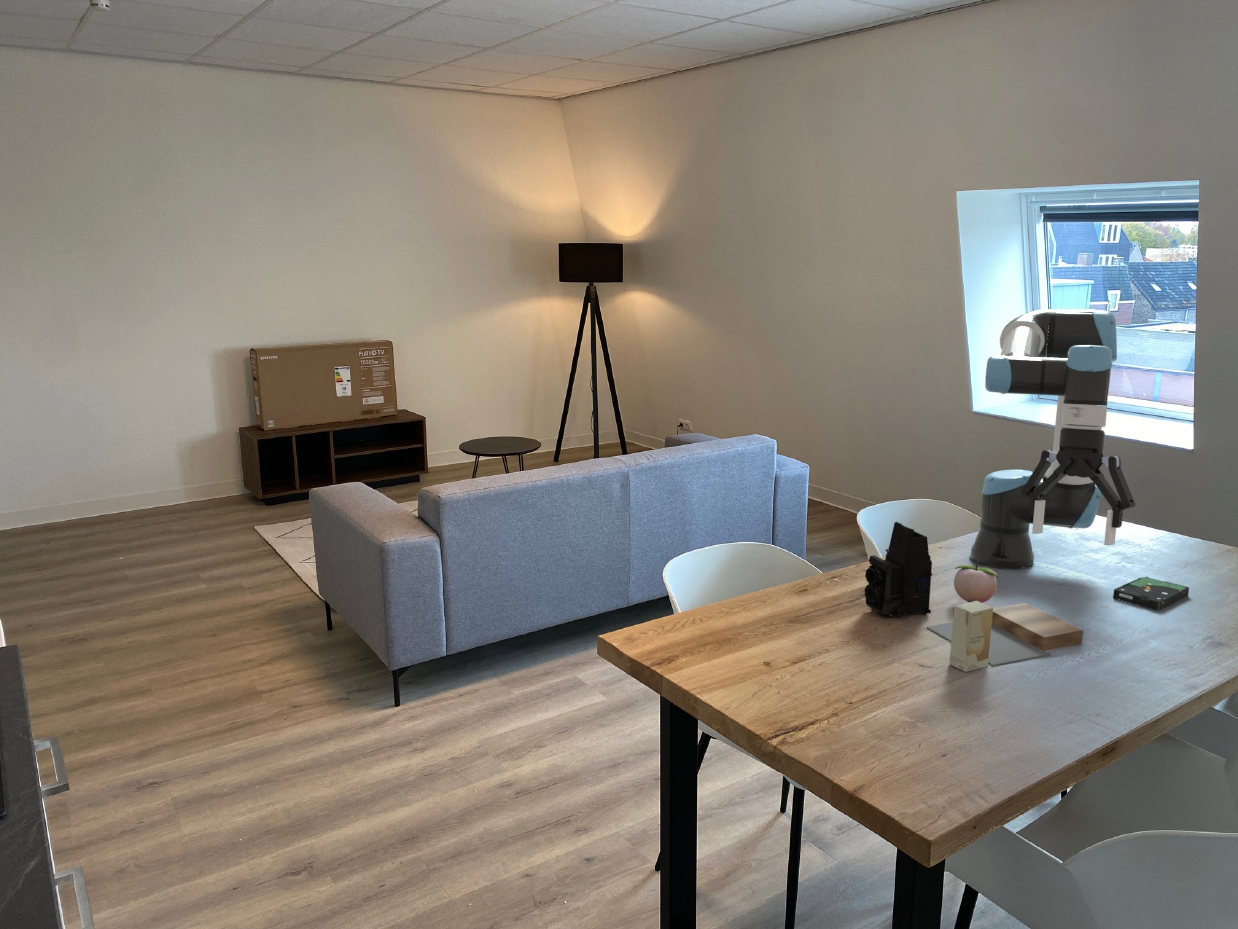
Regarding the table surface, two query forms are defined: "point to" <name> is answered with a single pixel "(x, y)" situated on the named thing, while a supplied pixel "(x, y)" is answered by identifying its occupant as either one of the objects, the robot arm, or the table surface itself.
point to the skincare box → (971, 636)
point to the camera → (900, 575)
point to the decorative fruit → (975, 583)
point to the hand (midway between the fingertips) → (1072, 539)
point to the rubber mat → (999, 645)
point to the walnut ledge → (1036, 626)
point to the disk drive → (1151, 593)
